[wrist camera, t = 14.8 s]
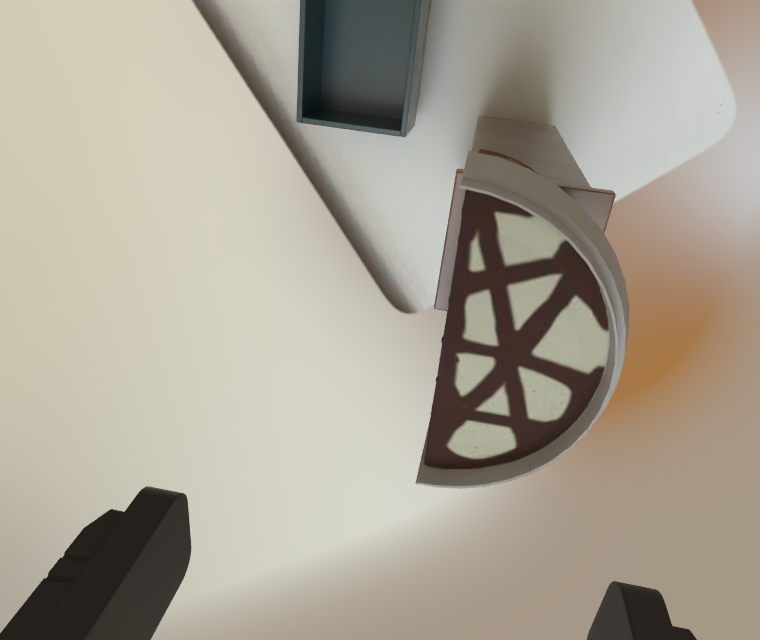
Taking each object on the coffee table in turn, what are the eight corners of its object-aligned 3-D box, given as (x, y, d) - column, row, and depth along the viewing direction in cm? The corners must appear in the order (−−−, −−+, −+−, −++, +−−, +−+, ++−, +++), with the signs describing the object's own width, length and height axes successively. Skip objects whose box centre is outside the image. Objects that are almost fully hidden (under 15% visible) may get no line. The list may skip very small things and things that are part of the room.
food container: (565, 380, 29) (582, 532, 21) (445, 358, 30) (413, 494, 22) (636, 131, 23) (701, 197, 15) (485, 112, 24) (462, 166, 16)
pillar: (555, 125, 45) (599, 199, 26) (537, 201, 47) (565, 316, 29) (478, 115, 45) (466, 180, 26) (465, 190, 48) (446, 297, 29)
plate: (613, 190, 26) (616, 194, 25) (572, 327, 29) (574, 333, 28) (457, 168, 26) (456, 171, 26) (434, 304, 30) (433, 309, 29)
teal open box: (441, -88, 40) (433, -103, 35) (414, 125, 46) (405, 137, 42) (326, -98, 41) (303, -115, 36) (316, 112, 47) (296, 122, 43)
